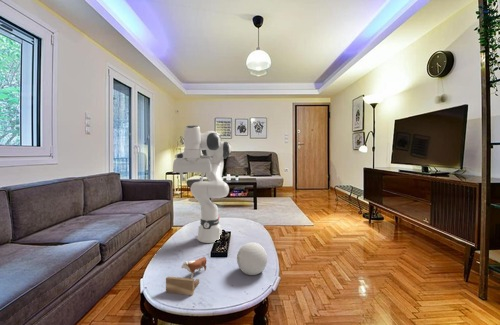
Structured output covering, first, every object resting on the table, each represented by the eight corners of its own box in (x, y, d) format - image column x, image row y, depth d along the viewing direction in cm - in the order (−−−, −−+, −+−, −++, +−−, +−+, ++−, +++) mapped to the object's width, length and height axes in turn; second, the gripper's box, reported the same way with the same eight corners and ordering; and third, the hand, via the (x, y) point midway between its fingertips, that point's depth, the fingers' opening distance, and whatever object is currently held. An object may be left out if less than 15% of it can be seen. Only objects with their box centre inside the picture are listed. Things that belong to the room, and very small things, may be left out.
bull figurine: (180, 278, 112) (180, 261, 112) (204, 269, 121) (204, 253, 121) (184, 281, 109) (184, 264, 109) (209, 272, 118) (209, 255, 118)
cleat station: (176, 280, 109) (176, 268, 109) (201, 283, 107) (201, 270, 107) (165, 292, 100) (165, 278, 100) (192, 295, 98) (192, 280, 98)
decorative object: (243, 264, 127) (244, 236, 127) (270, 269, 122) (271, 240, 121) (231, 277, 113) (231, 246, 113) (261, 283, 108) (261, 250, 107)
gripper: (212, 155, 131) (212, 180, 131) (175, 155, 130) (175, 180, 130) (211, 155, 125) (211, 181, 125) (171, 155, 124) (171, 181, 124)
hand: (192, 181), depth 128 cm, fingers open, 8 cm apart
